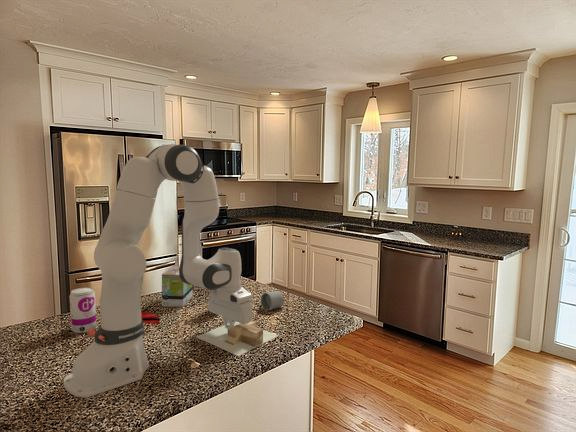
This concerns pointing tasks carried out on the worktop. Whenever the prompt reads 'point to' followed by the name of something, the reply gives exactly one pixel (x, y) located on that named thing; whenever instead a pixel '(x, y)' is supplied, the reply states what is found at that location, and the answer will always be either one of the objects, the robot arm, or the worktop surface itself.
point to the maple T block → (246, 333)
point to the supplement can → (82, 310)
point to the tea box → (174, 289)
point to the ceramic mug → (272, 300)
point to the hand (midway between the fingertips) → (229, 328)
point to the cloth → (149, 316)
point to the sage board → (221, 340)
